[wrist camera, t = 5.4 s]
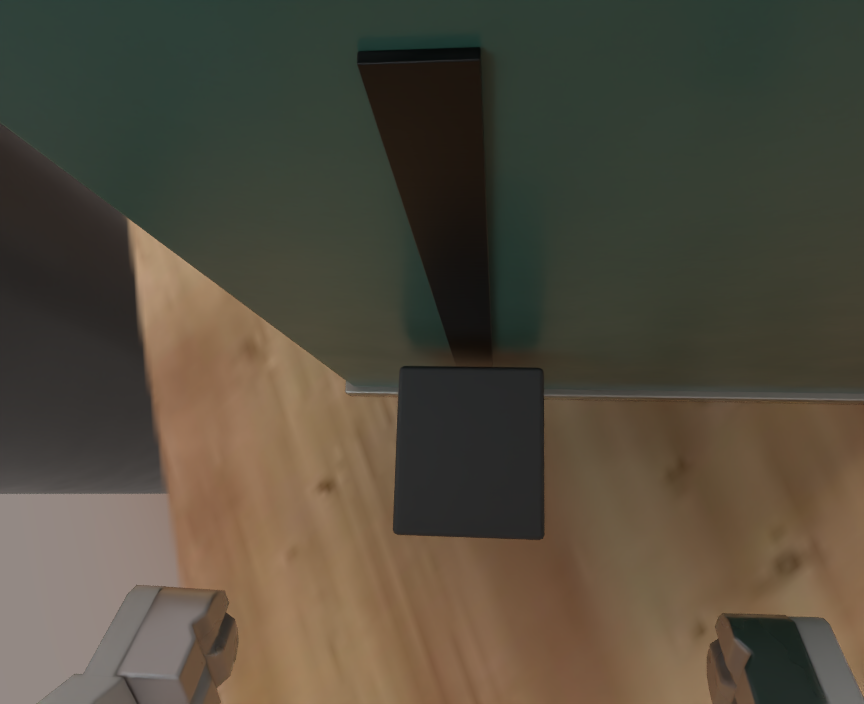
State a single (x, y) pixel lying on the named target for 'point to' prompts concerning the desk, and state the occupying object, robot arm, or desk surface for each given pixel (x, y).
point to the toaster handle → (470, 452)
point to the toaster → (486, 178)
